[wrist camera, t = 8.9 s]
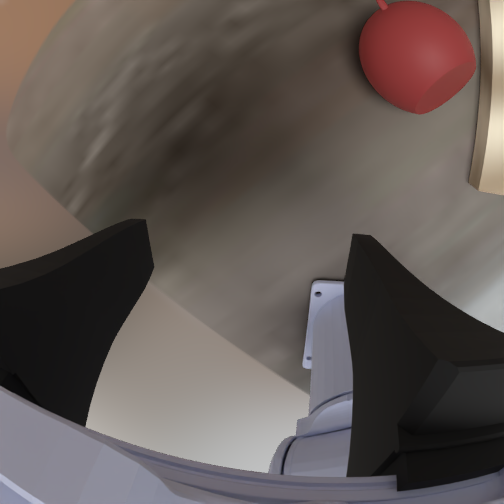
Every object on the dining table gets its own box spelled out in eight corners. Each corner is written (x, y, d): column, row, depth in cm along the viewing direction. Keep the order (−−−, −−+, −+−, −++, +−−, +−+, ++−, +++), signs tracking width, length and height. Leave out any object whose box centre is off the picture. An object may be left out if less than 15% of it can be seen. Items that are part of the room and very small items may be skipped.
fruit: (414, 19, 14) (400, -68, 7) (477, 84, 13) (504, 9, 6) (343, 65, 16) (298, -11, 9) (402, 135, 16) (394, 77, 8)
